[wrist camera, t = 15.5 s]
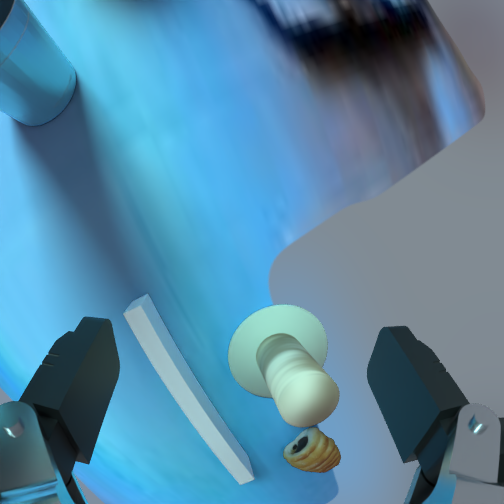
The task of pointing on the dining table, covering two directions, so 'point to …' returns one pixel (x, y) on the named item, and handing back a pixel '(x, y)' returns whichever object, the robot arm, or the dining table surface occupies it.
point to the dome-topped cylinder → (296, 381)
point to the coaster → (266, 325)
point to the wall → (186, 387)
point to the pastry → (312, 451)
